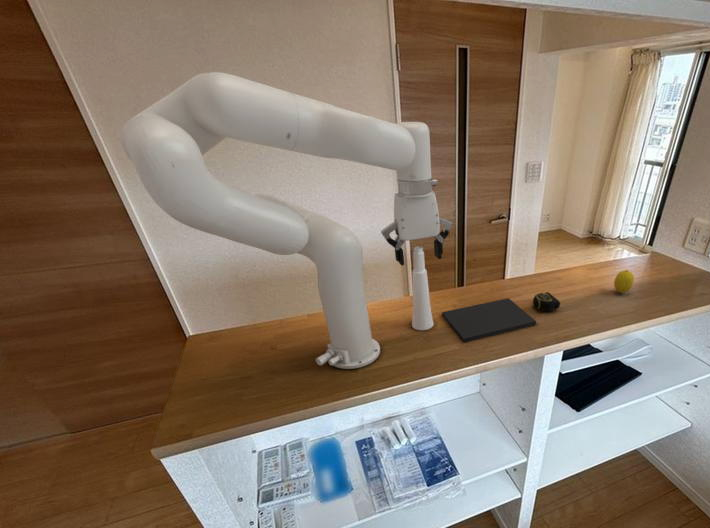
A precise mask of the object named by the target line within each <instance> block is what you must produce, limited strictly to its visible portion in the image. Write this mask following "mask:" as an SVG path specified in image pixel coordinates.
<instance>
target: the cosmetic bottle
mask: <svg viewBox="0 0 710 528" xmlns="http://www.w3.org/2000/svg"><path fill="white" fill-rule="evenodd" d="M412 259H413V260H412V262H413V269H412V272H411V273H412V276H411V279H412V319H411V327H412V328H413V329H414V330H416V331H428V330H431V329H432V328H433V327H434V325H435V323H434V319H433V315H432V308H431V307H432V306H431V301H430V288H429V280H428V279H429V278H428V271H427V269H426V265H425V252H424V248H423V246H421V245H420V246H419V245H417V246H414V247H413V251H412Z"/></svg>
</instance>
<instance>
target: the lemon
mask: <svg viewBox="0 0 710 528" xmlns="http://www.w3.org/2000/svg"><path fill="white" fill-rule="evenodd" d="M634 281H635V277H634V274H633V273H632V271H630V270H629V269H625V270H624V269H623V270H621V271H618V273H617V275H616V276H615V278H614V281H613V285H614V288H615V290H616V291H617V292H618V293H619V294H623V293H627V292H629V291H631V289H632V288H633V285H634Z"/></svg>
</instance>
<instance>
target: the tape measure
mask: <svg viewBox="0 0 710 528" xmlns="http://www.w3.org/2000/svg"><path fill="white" fill-rule="evenodd" d="M532 299H533V300H532V305H533V307H534V308H535V309H537V310H538V311H541V312H551V311H554V310H557V309H559V308H560V306H561V302H560V300H559V299H557V297H555V296H554V295H553V294H551V292H549V291H546V292H539V293H536V294H535V295H534V297H533V298H532Z"/></svg>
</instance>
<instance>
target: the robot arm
mask: <svg viewBox="0 0 710 528" xmlns="http://www.w3.org/2000/svg"><path fill="white" fill-rule="evenodd" d="M120 136H121V139H120V140H121V146H122V149H123V151H124V153H125V155H126V156H127V158H128V159H129V160H130V161H131V163H132V165H133V167H134V169H135V171H136V173H137V175H138V177H139V180H140V181H141V184H142V185H143V187H144V189H145V190H146V193H148V195H149V196H150V198H151V199H152V201H153V202H154V203H155V204H156V206H158V207H159V208H160V209H161V210H162V211H163V212H165V213H166V214H167V215H168V216H169V217H171V218H172V219H174V220H175V221H177V222H179V223H180V224H183V225H184V226H186V227H189V228H192V229H195V230H198V231H200V232H203V233H206V234H209V235H210V234H211V235H212V236H217V237H219V238H223V239H227V240H229V241H232V242H235V243H239V244H242V245H245V246H248V247H253V248H255V249H258V250H262V251H265V252H268V253H271V254H274V255H278V256H291V255H295V254H298V255H301V256H304V257H306V258H307V259H309V260H310V261H311V262H313V263H314V264H315V267H316V270H317V289H318V295H319V299H320V303H321V306H322V310H323V315H324V319H325V323H326V328H327V333H328V336H329V337H328V338H329V342H330V343H327V345H326V346H327V350H325V353H324V354H323V353H322V354H321V355H320V356H318V357H316V358H315V363H316V364H317V365H318V366H323V365H324V364H326V363H328V364H329V366H333V367H334V368H338V369H342V370H343V369H344V370H354V369H359V368H363V367H365V366H368V365H370V364H372V363H373V362H375V361H376V360H377V359H378V357H379V356H380V354H381V346H380V343H379V342H378V341H377V340H376V339H374V338H373V337H372V335H373V334H372V329H371V323H370V316H369V311H368V303H367V298H366V291H365V285H364V277H363V276H364V275H363V274H364V273H363V265H364V264H363V261H364V255H363V254H364V252H363V247H362V244H361V242H360V240H359V238H358V236H357V235H356V234H355V233H354V232H353V231H351V229H349V228H348V227H346V226H344V225H342V224H341V223H338V222H337V221H334V220H331V219H330V218H328V217H326V216H323V215H321V214H319V213H316V212H313V211H311V210H309V209H306V208H304V207H302V206H298V205H295V204H294V203H291V202H288V201H286V200H283V199H281V198H278V197H275V196H272V195H269V194H265V193H256V194H253V193H250V192H247V191H245V190H243V189H241V188H238V187H236V186H233V185H231V184H228V183H225V182H223V181H221V180H219V179H217V178H215V177H214V175H213V174H212V173H211V172H210V171H209V170H208V168H207V166H206V164H205V161H204V158H203V156H204V155H205V154H207V153H208V152H209V151H211V150H213V148H215V147H216V146H218V145H219V144H220V143H221V142H222V141H224V140H225V139H227V138H228V139H232V140H235V141H240V142H244V143H245V142H246V143H250V144H254V145H261V146H264V147H265V146H266V147H270V148H275V149H281V150H285V151H290V152H294V153H299V154H304V155H309V156H313V157H318V158H325V159H336V160H343V161H349V162H354V163H357V164H363V165H367V166H368V165H369V166H373V167H378V168H383V169H387V170H392V171H396V172H395V173H396V183H397V192H396V193H394V198H393V222H392V223H390V224H388V225H387V226H386V227H384V228H383V229H381V230H380V231H381V232H380V233H381V235H382V237H383V238H384V239H385V241H386V242H387V243H388V244H389V245H390V246H392V247H393V248H394V257H395V261H396V262H397V263H399V265H400V266H405V255H404V248H402V246H403V245H404V244H405V242H409V241H415V240H422V239H429V238H435V239H434V240H433V250H434V251H433V252H434V256H435V257H436V258H437V260H441V259H442V255H443V254H444V246H443V245H444V244H443V243H444V242H445V240H446V238H447V237H448V236H449V234H450V231H451V229H452V226H453V222H452V221H450V220H448V219H445V218H443V217H441V216H440V214H439V207H438V201H437V197H436V193H435V192H434V187H437V186H438V183H439V182H438V180H437V179H434V178H433V177H432V161H431V138H430V137H431V136H430V129H429V126H428V125H427V123H425V122H421V121H401V122H397V123H393V122H390V121H387V120H384V119H380V118H377V117H373V116H370V115H366V114H363V113H359V112H356V111H352V110H348V109H346V108H342V107H338V106H336V105H333V104H330V103H327V102H324V101H321V100H317V99H315V98H310V97H308V96H307V97H306V96H303V95H300V94H296V93H293V92H291V91H287V90H283V89H280V88H277V87H274V86H270V85H267V84H264V83H262V82H261V83H260V82H257V81H254V80H252V79H247V78H245V77H242V76H238V75H234V74H231V73H226V72H222V71H221V72H219V71H212V72H203V73H199V74H197V75H194V76H193V77H191V78H190V79H188V80H186V81H185V82H184V83H183V84H182V85H179V86H178V87H176V88H175V89H174V90H172V92H171V91H170V92H169V93H168V94H167V95H165V96H164V97H162V98H160V99H159V100H157V101H156V102H155V103H153V104H151V105H150V106H148V107H147V108H144V110H142V111H140V112H139V113H137V114H136V115H134V116H133V117H131V118H130V119H129V120H128V121H126V123H125V124H124V126H123V128H122V131H121V133H120ZM440 224H441V225H443V229H442V230H441V225H440ZM393 232H394V234H395V235H396V237H395V238H394V239H393V238H392V237H391V234H392V233H393Z"/></svg>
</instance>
